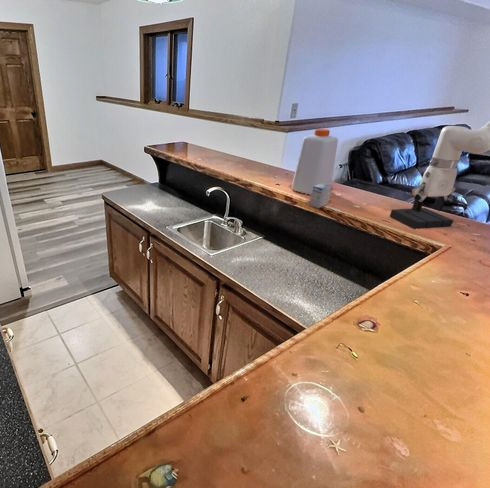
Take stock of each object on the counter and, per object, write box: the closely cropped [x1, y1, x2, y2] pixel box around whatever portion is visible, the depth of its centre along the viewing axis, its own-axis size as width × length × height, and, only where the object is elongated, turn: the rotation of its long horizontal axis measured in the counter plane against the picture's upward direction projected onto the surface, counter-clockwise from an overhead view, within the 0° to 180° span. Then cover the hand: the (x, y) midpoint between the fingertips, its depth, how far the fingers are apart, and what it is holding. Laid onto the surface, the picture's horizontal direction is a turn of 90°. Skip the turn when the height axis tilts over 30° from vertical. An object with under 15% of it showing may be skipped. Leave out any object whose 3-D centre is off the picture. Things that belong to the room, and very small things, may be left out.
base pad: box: [389, 207, 454, 230], centre depth 132 cm, size 15×13×3 cm
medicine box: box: [309, 183, 333, 209], centre depth 146 cm, size 8×4×9 cm, turn 130°
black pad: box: [407, 211, 443, 229], centre depth 131 cm, size 6×10×3 cm, turn 9°
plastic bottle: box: [291, 128, 339, 196], centre depth 160 cm, size 15×15×28 cm
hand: (426, 210), depth 129 cm, fingers open, 8 cm apart
